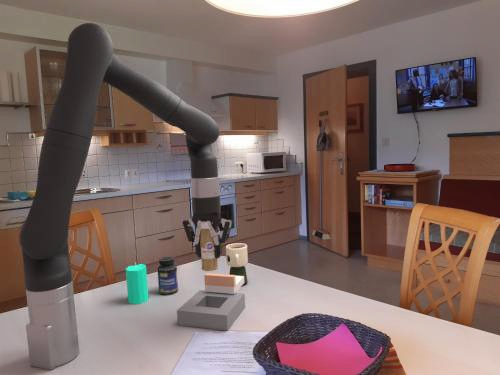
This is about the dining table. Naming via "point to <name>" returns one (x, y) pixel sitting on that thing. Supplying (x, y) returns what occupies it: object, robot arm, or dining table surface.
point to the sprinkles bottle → (207, 248)
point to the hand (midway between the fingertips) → (209, 257)
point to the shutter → (223, 283)
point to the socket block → (211, 310)
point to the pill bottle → (167, 276)
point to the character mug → (237, 259)
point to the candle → (137, 284)
